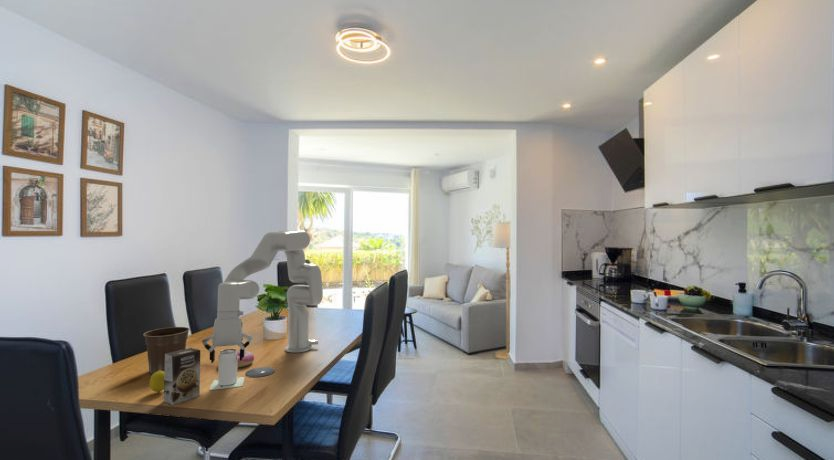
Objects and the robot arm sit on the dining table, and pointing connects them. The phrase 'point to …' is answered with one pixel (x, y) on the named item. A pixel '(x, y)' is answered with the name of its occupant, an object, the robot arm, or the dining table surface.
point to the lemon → (157, 381)
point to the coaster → (260, 371)
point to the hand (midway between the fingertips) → (227, 360)
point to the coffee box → (182, 375)
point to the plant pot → (164, 345)
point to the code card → (237, 384)
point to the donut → (244, 359)
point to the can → (227, 367)
